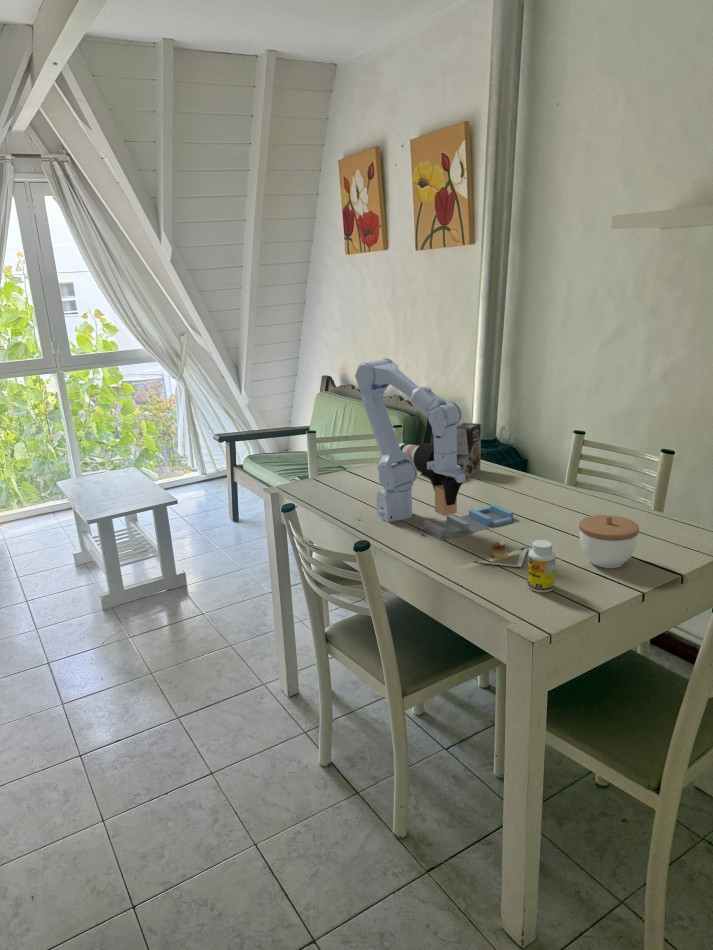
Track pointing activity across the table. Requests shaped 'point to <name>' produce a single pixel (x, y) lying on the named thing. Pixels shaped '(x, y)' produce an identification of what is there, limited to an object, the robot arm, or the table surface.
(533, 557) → the supplement bottle
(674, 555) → the table surface
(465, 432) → the coffee box
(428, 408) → the robot arm
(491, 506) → the grey fixture plate
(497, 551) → the dessert
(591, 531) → the lidded bowl
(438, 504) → the tan cardboard block
